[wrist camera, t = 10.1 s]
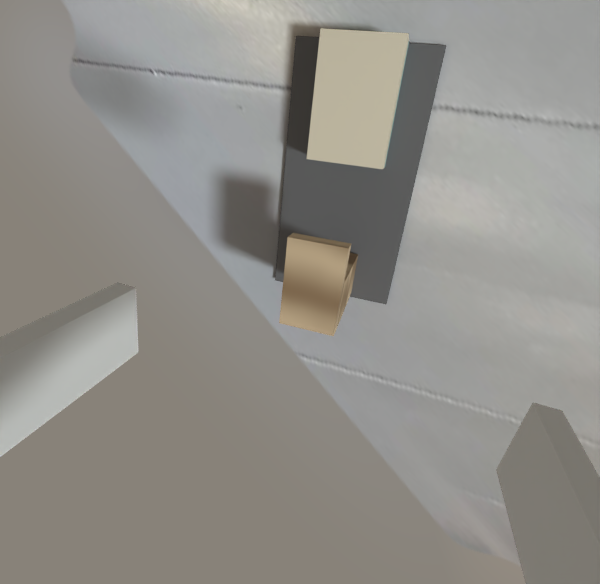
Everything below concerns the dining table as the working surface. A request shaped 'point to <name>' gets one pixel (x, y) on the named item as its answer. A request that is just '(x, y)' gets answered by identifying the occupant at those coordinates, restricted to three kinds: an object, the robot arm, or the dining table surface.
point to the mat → (357, 174)
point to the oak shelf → (316, 282)
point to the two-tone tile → (356, 96)
